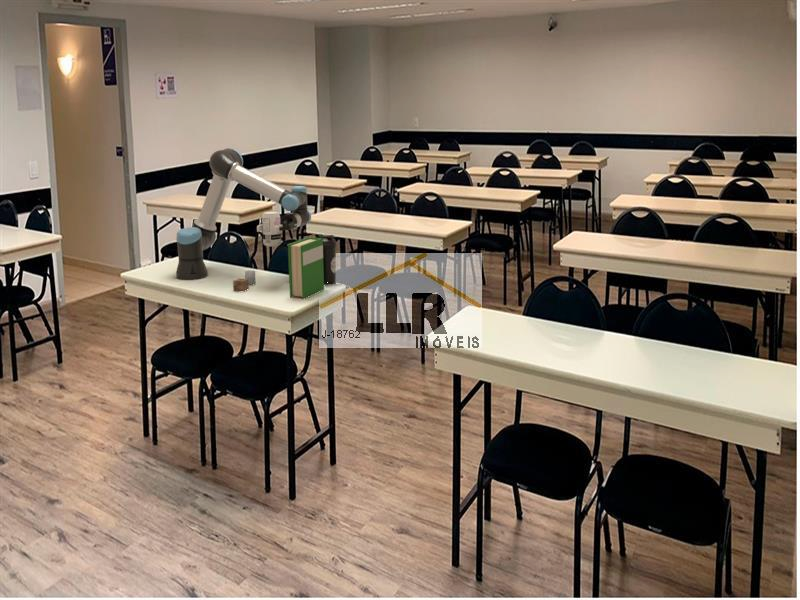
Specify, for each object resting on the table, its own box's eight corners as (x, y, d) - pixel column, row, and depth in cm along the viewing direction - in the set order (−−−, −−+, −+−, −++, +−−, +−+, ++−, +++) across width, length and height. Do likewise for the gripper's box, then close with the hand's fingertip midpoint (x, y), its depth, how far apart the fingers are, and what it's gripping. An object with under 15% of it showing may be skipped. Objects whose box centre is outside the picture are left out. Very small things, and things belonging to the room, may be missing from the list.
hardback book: (304, 298, 328) (302, 245, 321) (289, 297, 330) (287, 244, 324) (324, 289, 343) (322, 238, 337) (310, 287, 346) (308, 237, 339)
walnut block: (233, 291, 340) (232, 280, 339) (239, 288, 345) (238, 278, 344) (243, 292, 339) (242, 281, 337) (248, 289, 343) (248, 279, 342)
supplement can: (264, 243, 346) (262, 211, 342) (281, 242, 347) (280, 211, 343) (262, 246, 338) (260, 214, 334) (280, 246, 339) (279, 214, 335)
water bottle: (334, 286, 349) (332, 237, 343) (313, 284, 351) (311, 237, 345) (339, 280, 359) (338, 233, 352) (319, 279, 361) (318, 233, 354)
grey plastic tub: (243, 284, 350) (242, 272, 349) (247, 282, 355) (247, 270, 354) (253, 285, 350) (252, 273, 348) (257, 283, 354) (256, 270, 353)
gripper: (310, 230, 354) (287, 239, 334) (271, 227, 361) (246, 236, 341) (309, 215, 352) (286, 222, 332) (270, 212, 359) (245, 219, 339)
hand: (266, 229), depth 336 cm, fingers closed on supplement can, 8 cm apart
